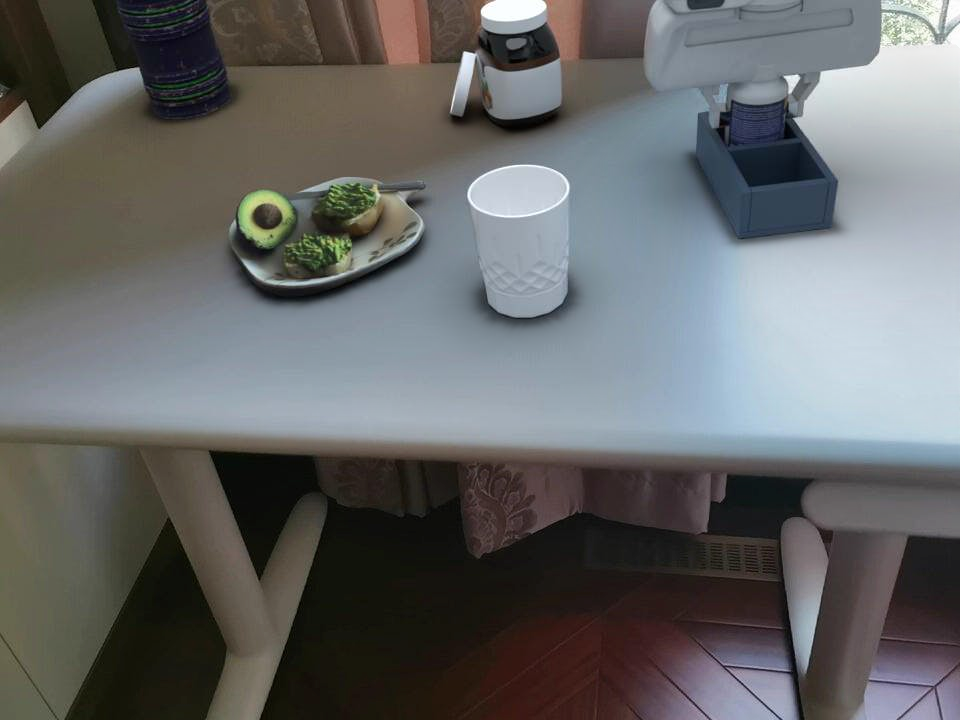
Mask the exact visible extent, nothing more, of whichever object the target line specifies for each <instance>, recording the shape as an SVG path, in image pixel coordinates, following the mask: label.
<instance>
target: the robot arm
mask: <svg viewBox="0 0 960 720" xmlns="http://www.w3.org/2000/svg"><path fill="white" fill-rule="evenodd" d="M882 1H883V0H655V1H654V2H653V4H652V6H651V8H650V10H649V13H648V18H647V23H646V30H645V37H644V48H643V72H644V76H645V78H646V80H647V82H648V84H649V85H650V86H651V87H652V88H653V89H654V90H655V91H656V92H657V93H667V92H668V93H669V92H674V91H681V90H682V91H683V90H691V89H697V88H698V90H699V92H700V94H701V95H702V97H703V98H704V100H705V102H706V103H707V105H708V111H709V123H710V125H711V127H712V128H713V129H715V128H722V127H728V126H729V120H728V119H729V118H730V109H729V108H728V107H727V105H726V101H725V102H724V101H722V102H717V101H716V99H715V98H714V96H718V95H719V94H720V86H721V85H728V84H729V83H736V82H744V81H751V80H753V79H754V76H755V75H756V72H757V67H758V66H763V65H771V64H775V65H776V70H775V71H776V74H777V77H782V76H783V77H789V76H790V77H791V76H796V75H798V77H799V80H798V81H797V82H796V85H795V86H794V87H793V89H792V90H791V93H788V102H787V111H786V119H791V118H793V119H797V118H798V119H799V118H803V115H804V110H805V108H804V107H805V101H807V100H808V98H809V97H810V96H811V94H812V93H813V91H814V90H815V89H816V88H817V86H818V85H819V83H820V81H821V74H822V73H821V72H827V71H835V70H843V69H851V68H858V67H864V66H865V67H866V66H868V65H870V64H871V63H872V62H873V61H874V60H875V58H876V57H877V56H878V55H879V54H880V50H881V41H882V29H883V26H882V25H883V9H882V7H883V6H882Z"/></svg>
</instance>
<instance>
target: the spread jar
mask: <svg viewBox="0 0 960 720" xmlns="http://www.w3.org/2000/svg"><path fill="white" fill-rule="evenodd" d="M480 20H481V28H480V29H479V31H478V32H477V34H476V38H475V42H474V43H475V44H474V52H475V53H472V52H469V51H463V52H462V56H461V60H460V63H459V68H458V73H457V77H456V82H455V87H454V92H453V97H452V101H451V107H450V115H453V116H457V117H461V118H462V117H463V116H464V113H465V109H466V105H467V101H468V98H469V97H468V96H469V92H470V89H471V83H472V79H473V74H474V69H475V64H476V72H477V74H476V75H477V82H478V88H479V93H480V97H481V102H482V104H483V107H484V110H485V112H486V114H487V116H488V117H489V119H490V120H491V121H492V122H493V123H495V124H497V125H499V126H502V127H506V128H526V127H527V128H528V127H531V126H532V127H533V126H535V125H538V124H541V123H543V122H545V121H546V120H548V119H550V118H551V117H552V116H554V115H555V114H556V113H557V112H558V111H559V109H560V107H561V105H562V102H563V101H562V100H563V83H562V64H561V63H562V62H561V53H560V48H559V45H558V42H557V40H556V37H555V33H554V32H553V30H552V29H551V26H550V25H549V23H548V22H547V21H548V7H547V4H546V2H545V1H544V0H492V1H490V2H489V3H487V4H485V5H484V6H482V8H481V9H480ZM475 62H476V63H475Z"/></svg>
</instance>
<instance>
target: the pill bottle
mask: <svg viewBox="0 0 960 720" xmlns="http://www.w3.org/2000/svg"><path fill="white" fill-rule="evenodd" d="M775 70H776V65H775V64H771V65H763V66H758V67H757V72H756V75H755V76H754V79H753V80H751V81H744V82H736V83H729V84H727V87H726V99H725V103H726V105H727V107H728V108H729V109H730V118H729V119H728V120H729V126H728V127H725V130H724V144H725V146H726V147H729V146H738V145H746V144H754V143H762V142H770V141H778V140H783V139H784V129H785V121H786V111H787V102H788V94H789V91H790V90H789V89H790V86H789V82H788V81H787V79H786V78H785V76H782V77H777V74H776V71H775Z"/></svg>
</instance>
